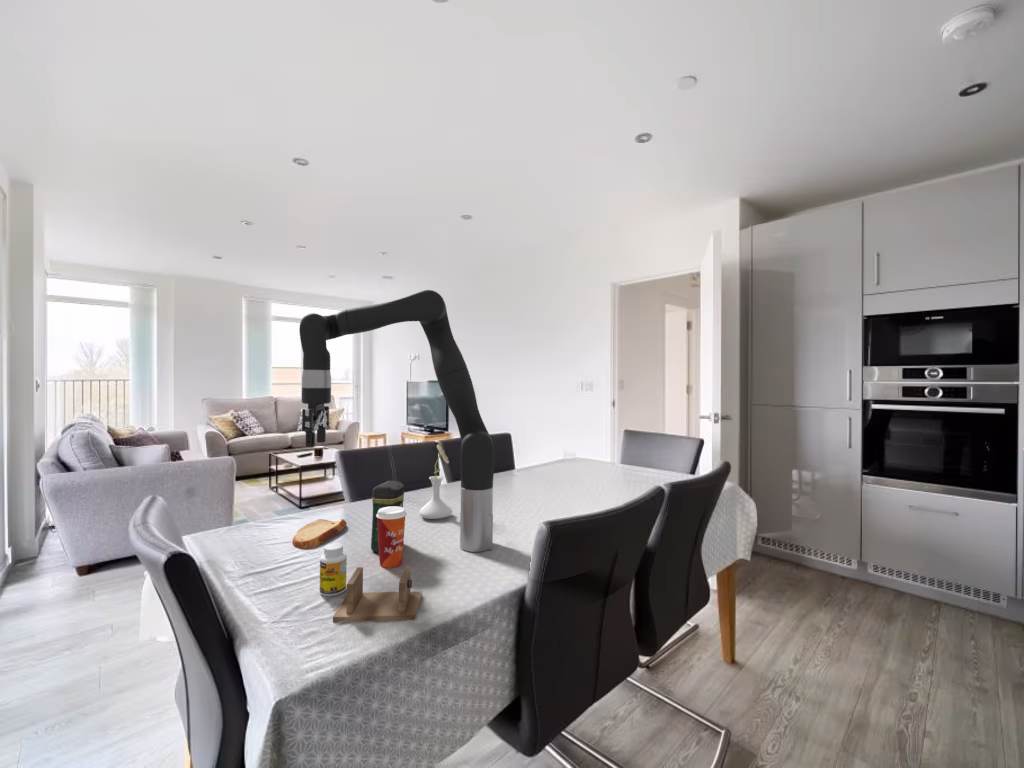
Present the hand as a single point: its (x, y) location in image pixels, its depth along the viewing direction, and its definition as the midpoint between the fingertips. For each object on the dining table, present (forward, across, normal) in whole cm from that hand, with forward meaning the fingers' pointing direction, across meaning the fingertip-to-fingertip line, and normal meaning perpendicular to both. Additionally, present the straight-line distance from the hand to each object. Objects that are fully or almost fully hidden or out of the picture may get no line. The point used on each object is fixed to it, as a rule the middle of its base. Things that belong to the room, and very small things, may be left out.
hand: (315, 444), depth 125 cm
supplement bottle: (+30, -26, -13) cm, 41 cm away
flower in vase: (+30, +29, -31) cm, 52 cm away
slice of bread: (+30, +11, +2) cm, 32 cm away
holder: (+29, -34, -25) cm, 51 cm away
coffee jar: (+30, 0, -20) cm, 36 cm away
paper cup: (+30, -11, -23) cm, 39 cm away
